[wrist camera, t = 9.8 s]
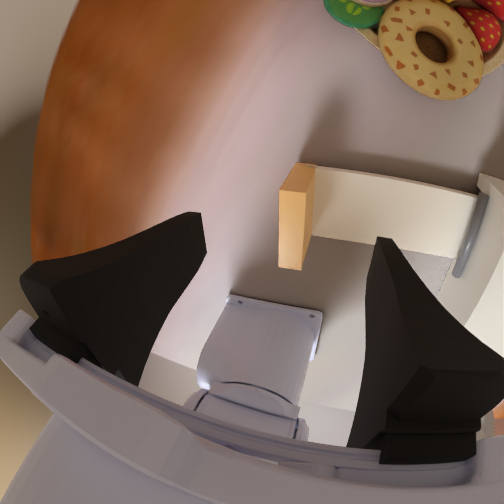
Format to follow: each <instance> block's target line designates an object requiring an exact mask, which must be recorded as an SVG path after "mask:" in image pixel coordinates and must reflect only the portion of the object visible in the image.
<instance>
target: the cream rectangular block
mask: <svg viewBox="0 0 504 504" xmlns="http://www.w3.org/2000/svg"><path fill="white" fill-rule="evenodd" d="M477 187H478V188H479V189H480V190H481V191H482V192H479V195H478V198H477V202H476V205H475V209H474V212H473V215H472V219H471V222H470V225H469V228H468V231H467V234H466V237H465V239H464V242H463V245H462V248H461V250H460V253H459V256H458V258H457V259H454V258H453V261H452V263H451V266H450V268H449V271H448V273H447V275H446V278H445V280H444V282H443V284H442V287H441V289H440V291H439V293H438V295H437V298H436V299H437V300H438V301H439V302H440V303H441V304H442V305H443V306H444V308H445V309H446V310H447V311H448V312H449V313H450V314H451V315H452V316H453V317H454V318H455V319H457V320H458V321H459V322H460V323H461V324H462V325H463V326H464V327H465V328H466V329H467V330H468V331H470V332H471V333H472V334H473V335H474V336H476V337H477V338H478V339H479V340H480V341H482V342H483V343H484V344H486V345H487V346H488V347H490V348H491V349H493V350H494V351H495V352H497V353H498V354H499V355H501V356H502V357H504V180H501V179H498V178H495V177H492V176H489V175H486V174H483V173H479V177H478V182H477Z"/></svg>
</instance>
